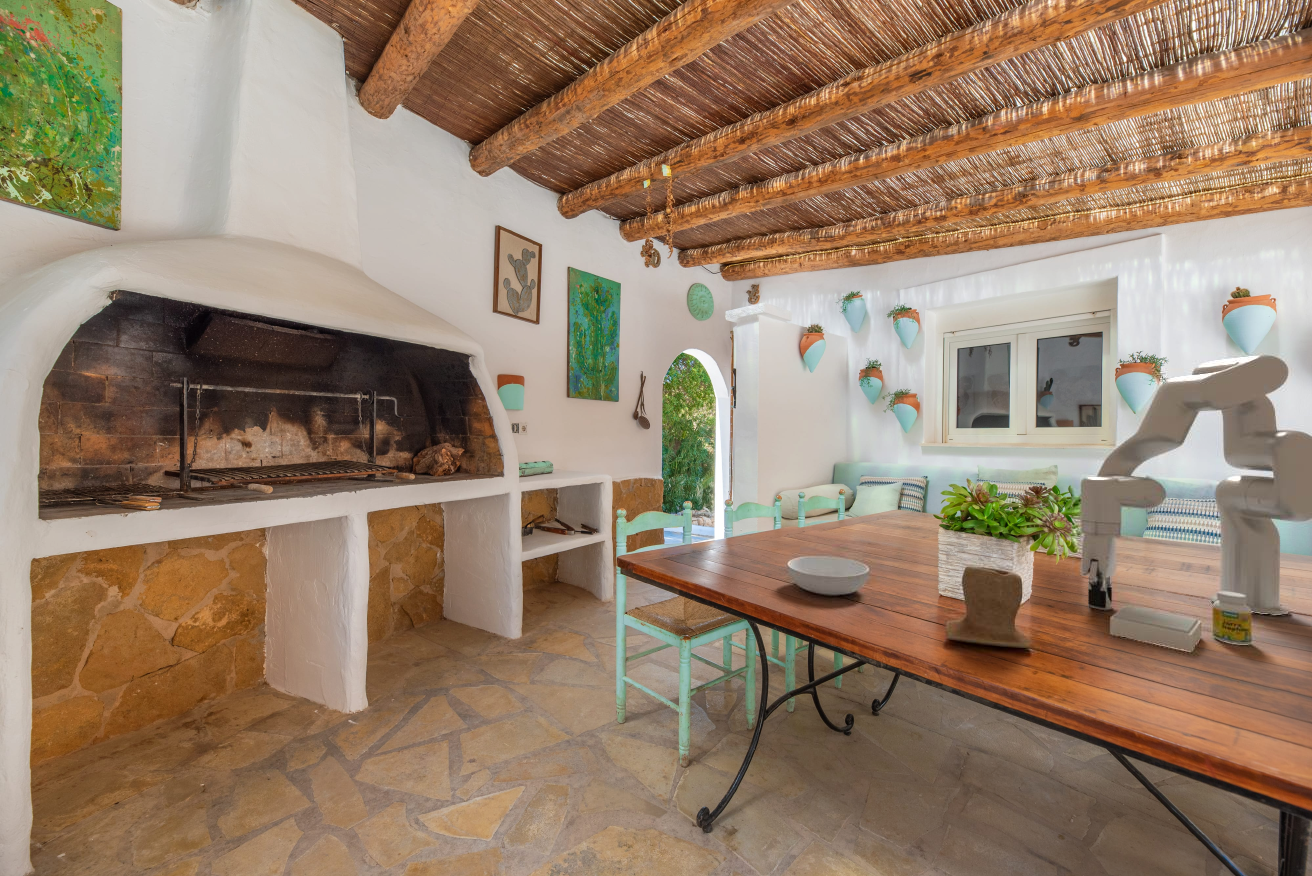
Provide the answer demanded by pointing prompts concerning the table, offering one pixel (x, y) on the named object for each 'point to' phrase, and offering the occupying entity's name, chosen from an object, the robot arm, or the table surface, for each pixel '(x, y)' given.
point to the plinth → (1156, 627)
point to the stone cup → (989, 609)
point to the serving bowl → (828, 574)
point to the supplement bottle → (1232, 618)
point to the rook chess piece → (1106, 597)
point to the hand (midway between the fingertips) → (1100, 603)
